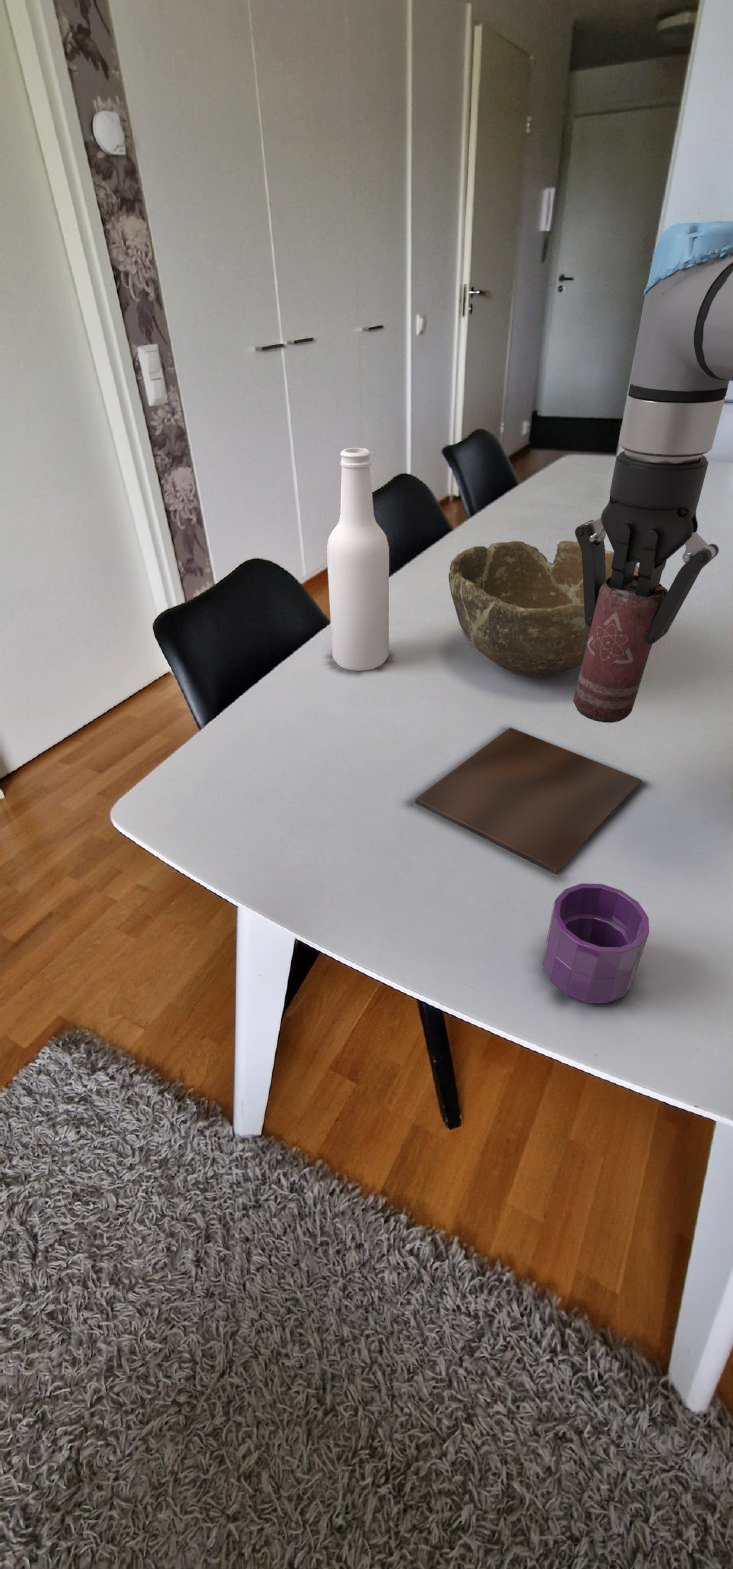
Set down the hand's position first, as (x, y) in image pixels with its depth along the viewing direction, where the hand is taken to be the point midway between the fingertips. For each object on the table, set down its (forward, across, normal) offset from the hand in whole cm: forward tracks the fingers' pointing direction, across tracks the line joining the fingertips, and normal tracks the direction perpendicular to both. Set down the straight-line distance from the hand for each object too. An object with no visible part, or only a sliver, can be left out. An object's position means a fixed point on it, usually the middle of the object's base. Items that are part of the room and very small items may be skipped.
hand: (610, 694), depth 74 cm
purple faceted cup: (+13, -12, +24) cm, 30 cm away
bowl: (+13, +22, -24) cm, 35 cm away
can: (+2, 0, 0) cm, 2 cm away
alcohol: (+13, +43, -8) cm, 46 cm away
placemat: (+13, +5, +5) cm, 14 cm away
